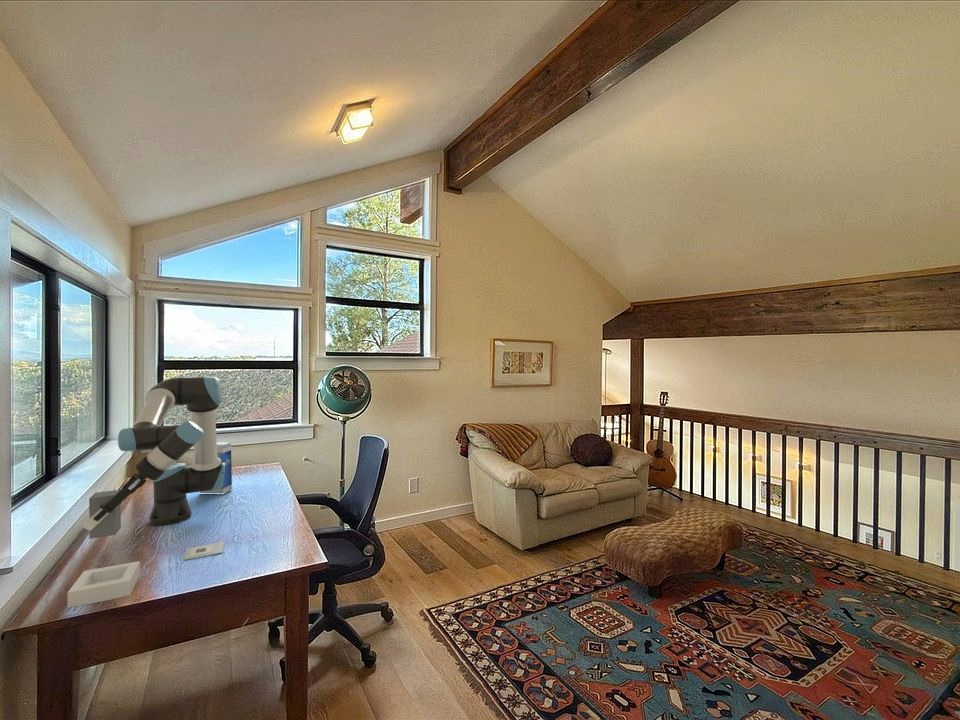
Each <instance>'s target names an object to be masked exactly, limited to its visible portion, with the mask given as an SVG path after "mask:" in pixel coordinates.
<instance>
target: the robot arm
mask: <svg viewBox="0 0 960 720" xmlns="http://www.w3.org/2000/svg"><path fill="white" fill-rule="evenodd" d="M223 399H224V398H223V389H222V385H221V382H220V379H219V378H218V377H216V376H207V375H206V376H184V377H180V376H179V377H171V378H167V379H165V380H162V381H160V382H159V383H157V384H155V385H154V386H153V387H151V389H150V390H148V392H147V394H146V395H145V399H144V400H145V404H144V406H143V407H142V410H141V411H140V413H139V415H138V417H137V419H136V420H135V422H134V424H133V426H132V427H127V428H122V429H120V430H119V432H118V437H117V446H118V449H119V450H120V451H121V452H137V451H149V450H151V451H149V452H148V453H147V454H146V456H144V457H143V458H142V459H141V460H140V461H138V462H137V463H136V464H135V469H136V471H137V473H136V472H135V473H134V474H133V475H132V476H131V477H129V480H128V481H126V482H125V484H124V485H123V486H122V487H121V488H120V489H119V490H120V492H119V493H118V494H117V495H116V496H114V497H113V498H112V499H111V500H110V501H109V502H108V503H107V504H106V505H105V506H102V505H101V506H100V508H101V509H99V510H98V511H97V512H96V513H95V514H94V515H93V516H92V517H91V518H90V519H89V518H88V519H87V520H86V521H85V522H84V523H83V524H82V525H81V527H82V528H84V529H86V530H87V531H89V532H90V531H91V530H92V529H93V528H94V527H95V526H96V525H97V524H98V523H100V522H101V521H102V520H103V519H104V518H105V517H106V516H107V515H108V514H109V513H111V512H112V510H114V509H115V508H116V507H117V506H118V505H119V504H120V505H122V503H123V501H125V499H127V498H128V497H129V496H130V495H131V494H134V493H135V492H136V491H137V490H138V489H139V488H141V487H143V485H144V484H145V483H147V480H146V479H149V480H151V481H152V482H153V506H152V508H151V511H150V513H149V517H148V524H149V525H152V526H166V525H167V526H168V525H172V524H177V523H181V522H183V521H187V520H188V519H190V518H191V517H192V509H191V507H190V504H189V502H188V499H187V494H193V493H200V492H202V491H212V490H217V489H220V488H222V486H223V479H224V472H225V463H221V459H220V458H219V457H217V423H216V421H217V420H216V410H218V409H219V407H220V405H221V404H222V403H223ZM174 406H175V407H177V406H186V411H188V412H189V413H191V420H188V419H186V420H184V421H183V422H182V423H181V424H178V425H164V426H163V422H164V421H165V418H166V416H167V414H168V412H169V410H170V409H171V408H172V407H174ZM191 448H193V457H194V458H193V459H194V460H193V461H192V462H191V464H190V466H189V465H188V466H187V464H186V463H185V462H177V461H178V460H180V459H181V457H183V456H184V455H185V454H186V453H188V451H189V450H190V449H191Z"/></svg>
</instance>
